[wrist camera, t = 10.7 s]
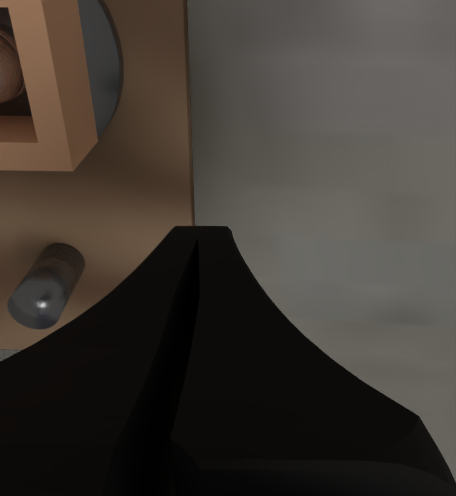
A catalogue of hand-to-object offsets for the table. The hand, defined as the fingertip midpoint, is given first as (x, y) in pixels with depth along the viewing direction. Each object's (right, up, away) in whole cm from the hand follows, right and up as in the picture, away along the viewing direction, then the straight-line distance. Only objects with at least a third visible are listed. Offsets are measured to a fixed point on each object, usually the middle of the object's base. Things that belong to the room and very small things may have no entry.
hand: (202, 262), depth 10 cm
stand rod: (-7, 0, +9) cm, 12 cm away
